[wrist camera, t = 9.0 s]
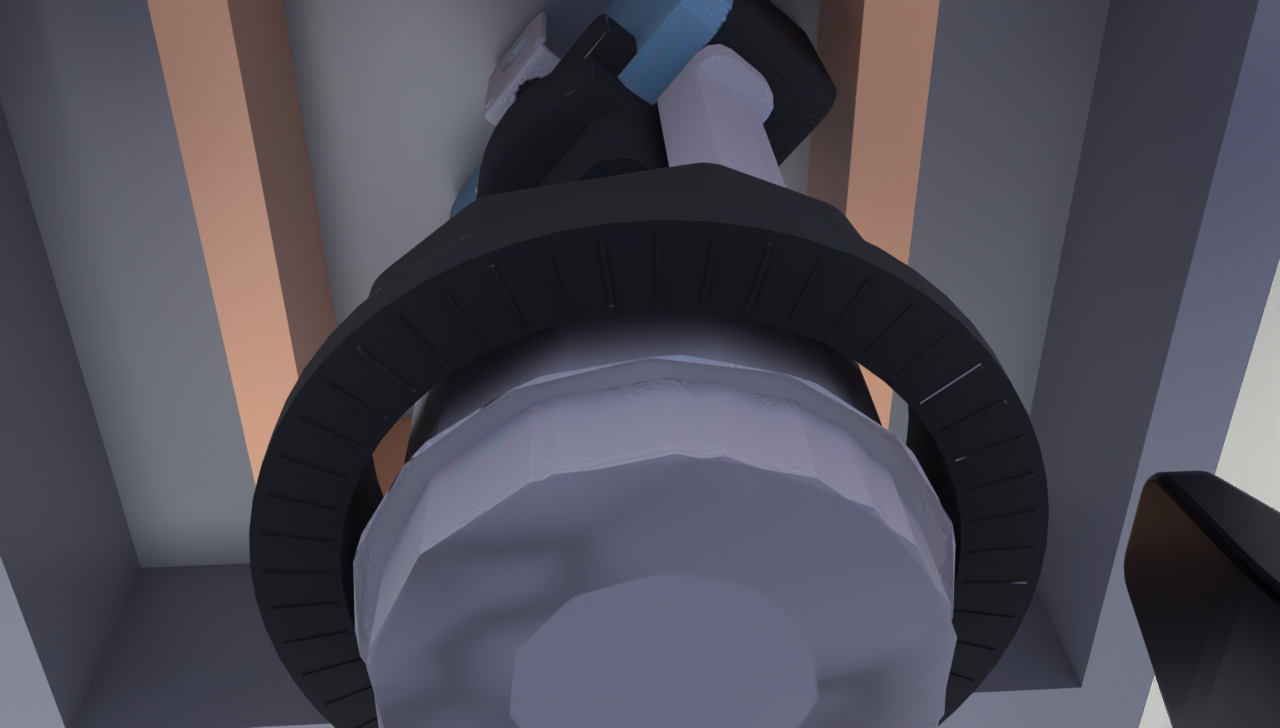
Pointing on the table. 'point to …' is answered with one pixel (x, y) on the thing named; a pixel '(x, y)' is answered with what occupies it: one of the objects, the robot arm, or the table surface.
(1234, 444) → the table surface
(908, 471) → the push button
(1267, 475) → the table surface
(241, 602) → the walled box
